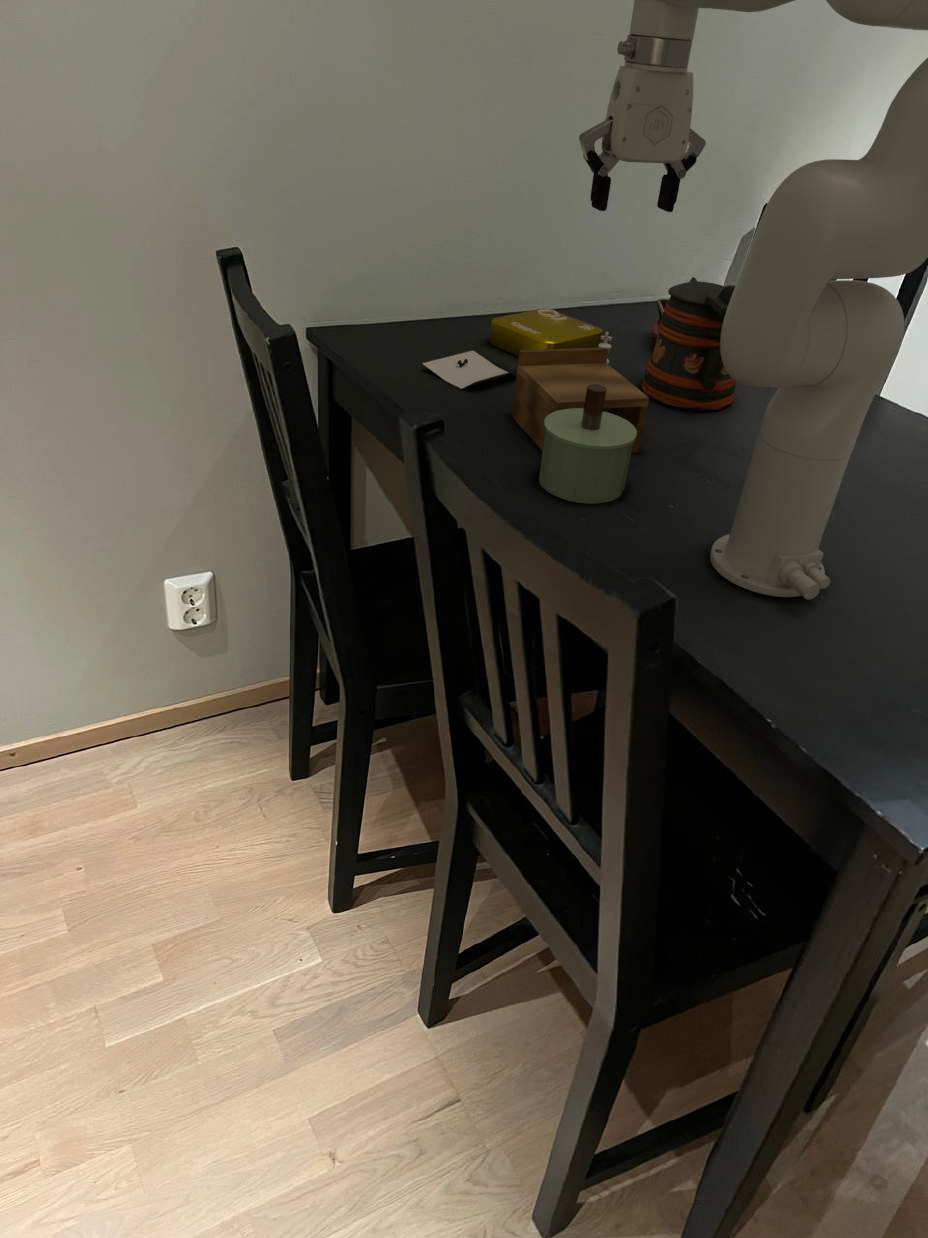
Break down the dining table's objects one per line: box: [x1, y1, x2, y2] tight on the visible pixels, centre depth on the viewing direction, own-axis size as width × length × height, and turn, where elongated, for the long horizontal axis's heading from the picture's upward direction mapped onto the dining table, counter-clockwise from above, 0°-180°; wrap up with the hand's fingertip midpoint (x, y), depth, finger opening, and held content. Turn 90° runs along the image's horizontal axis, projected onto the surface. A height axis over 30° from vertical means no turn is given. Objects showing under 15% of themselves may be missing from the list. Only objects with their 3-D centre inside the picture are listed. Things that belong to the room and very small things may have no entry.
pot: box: [538, 430, 634, 505], centre depth 116 cm, size 11×11×7 cm
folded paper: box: [421, 350, 517, 390], centre depth 148 cm, size 12×12×2 cm
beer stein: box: [641, 276, 737, 412], centre depth 141 cm, size 19×15×20 cm
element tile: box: [489, 307, 603, 358], centre depth 161 cm, size 15×15×5 cm
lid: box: [544, 384, 637, 450], centre depth 113 cm, size 12×12×6 cm
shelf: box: [511, 348, 650, 454], centre depth 129 cm, size 14×14×10 cm
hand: (632, 209), depth 119 cm, fingers open, 9 cm apart
